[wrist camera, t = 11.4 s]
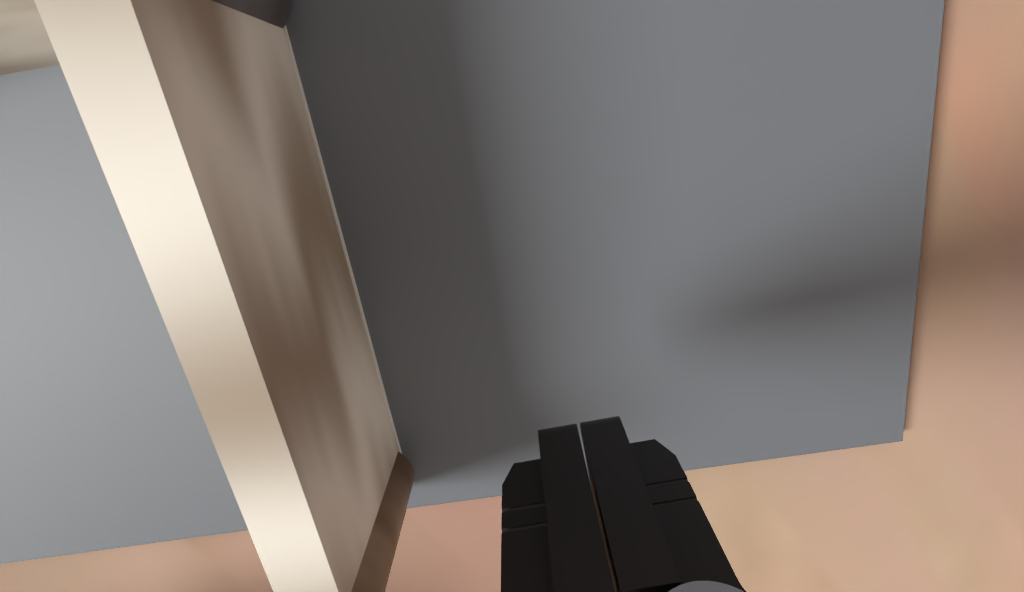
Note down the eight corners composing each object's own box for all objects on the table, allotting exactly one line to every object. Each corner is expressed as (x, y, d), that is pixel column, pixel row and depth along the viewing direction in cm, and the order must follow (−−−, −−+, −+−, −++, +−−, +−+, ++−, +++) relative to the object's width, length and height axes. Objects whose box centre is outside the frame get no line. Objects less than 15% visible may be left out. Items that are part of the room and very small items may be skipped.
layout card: (-626, -326, 10) (-681, -348, 9) (993, -707, 9) (1021, -755, 8) (-47, 561, 17) (-63, 574, 17) (892, 432, 16) (904, 442, 15)
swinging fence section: (181, -54, 11) (-141, -224, 5) (275, -72, 11) (41, -262, 5) (356, 504, 15) (275, 709, 10) (423, 494, 15) (378, 697, 10)
